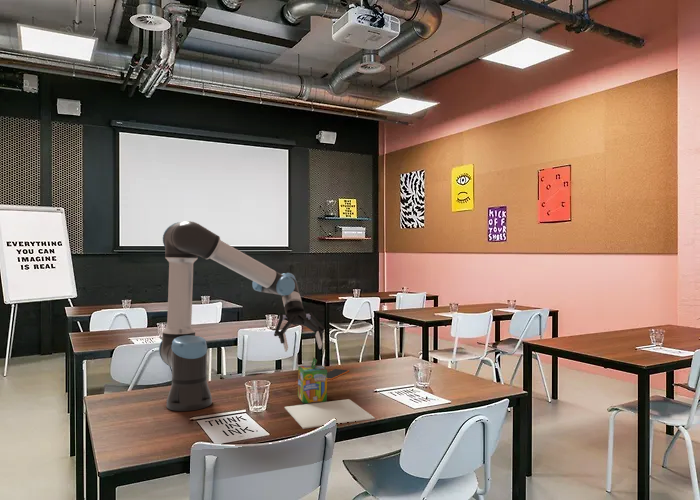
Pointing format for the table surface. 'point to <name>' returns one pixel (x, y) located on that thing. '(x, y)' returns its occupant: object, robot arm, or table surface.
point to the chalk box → (312, 383)
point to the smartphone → (335, 373)
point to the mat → (327, 413)
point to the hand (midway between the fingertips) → (303, 348)
